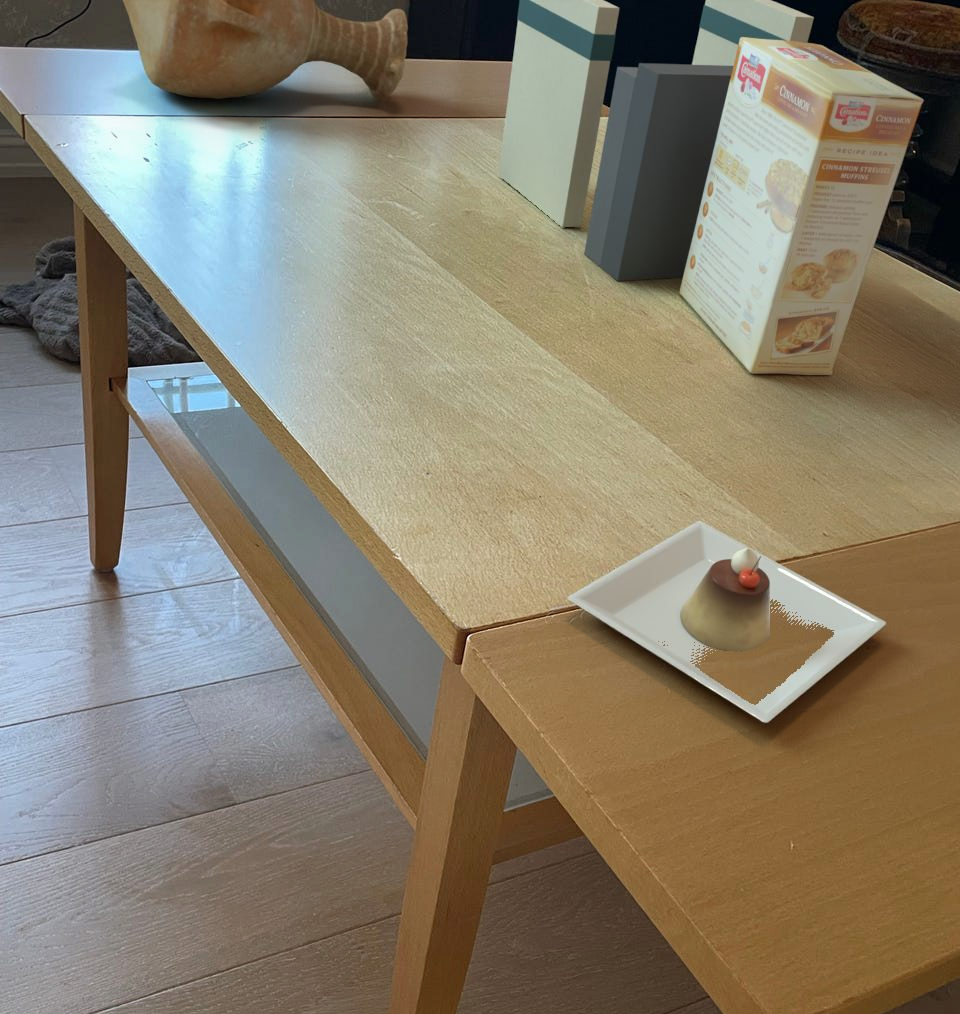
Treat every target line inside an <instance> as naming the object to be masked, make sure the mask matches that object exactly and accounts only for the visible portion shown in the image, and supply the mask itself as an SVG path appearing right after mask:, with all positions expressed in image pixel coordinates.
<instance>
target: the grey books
mask: <svg viewBox="0 0 960 1014" xmlns="http://www.w3.org/2000/svg"><path fill="white" fill-rule="evenodd" d="M733 67H734V66H721V65H692V64H684V63H683V64H682V63H681V64H680V63H647V62H646V63H644V62H639V63H638V67H636V66H634V67H633V66H616V73H615V77H614V84H613V89H612V95H611V101H610V106H609V112H608V118H607V123H606V128H605V135H604V140H603V145H602V151H601V155H600V162H599V168H598V174H597V179H596V185H595V191H594V196H593V201H592V207H591V212H590V217H589V218H590V219H589V223H588V229H587V234H586V240H585V241H586V242H585V245H584V246H585V247H584V252H583V255H585V256H586V257H587V258H589V259H590V260H591V261H592V262H593V263H594V264H596V265H597V266H599V267H600V268H601V269H602V270H603V271H604V272H606V273H607V274H608V275H609V276H610V277H612V278H613V279H614V280H615V281H617V282H620V281H621V282H622V281H623V282H624V281H641V280H642V281H643V280H658V279H659V280H661V279H676V278H677V279H678V278H679V279H680V278H683V275H684V271H685V267H686V263H687V259H688V254H689V250H690V246H691V242H692V238H693V234H694V230H695V226H696V221H697V217H698V213H699V209H700V205H701V200H702V196H703V192H704V188H705V184H706V179H707V175H708V171H709V167H710V163H711V159H712V154H713V150H714V146H715V142H716V138H717V133H718V129H719V125H720V121H721V117H722V113H723V108H724V104H725V100H726V96H727V91H728V87H729V83H730V79H731V75H732V71H733Z"/></svg>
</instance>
